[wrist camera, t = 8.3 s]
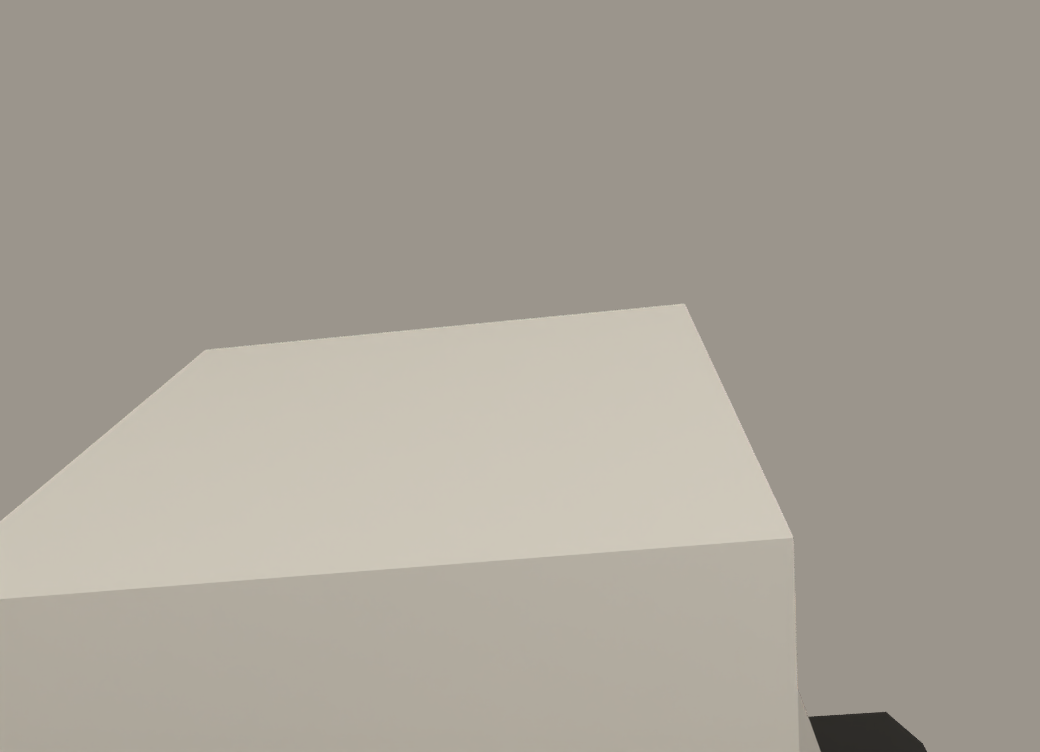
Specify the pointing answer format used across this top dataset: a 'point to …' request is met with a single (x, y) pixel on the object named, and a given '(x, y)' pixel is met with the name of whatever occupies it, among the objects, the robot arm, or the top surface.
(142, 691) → the column
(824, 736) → the robot arm
